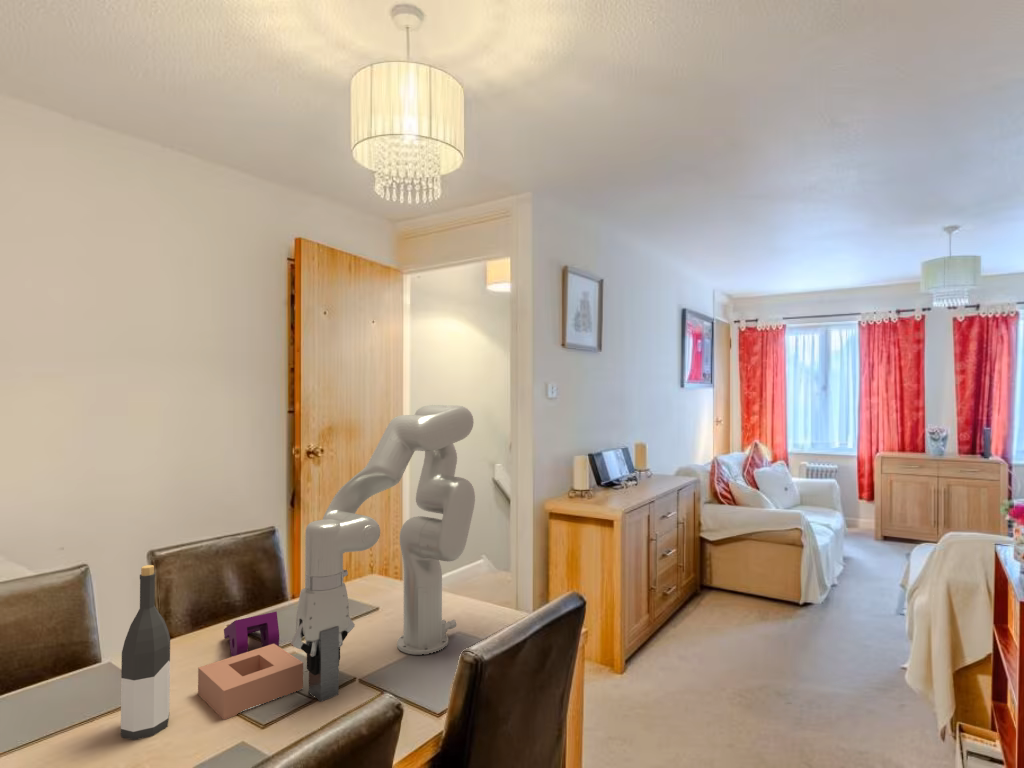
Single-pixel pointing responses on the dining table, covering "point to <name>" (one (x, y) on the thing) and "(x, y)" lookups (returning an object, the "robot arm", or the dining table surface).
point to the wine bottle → (145, 667)
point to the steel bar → (326, 666)
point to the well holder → (249, 679)
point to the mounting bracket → (249, 625)
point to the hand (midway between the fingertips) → (323, 668)
